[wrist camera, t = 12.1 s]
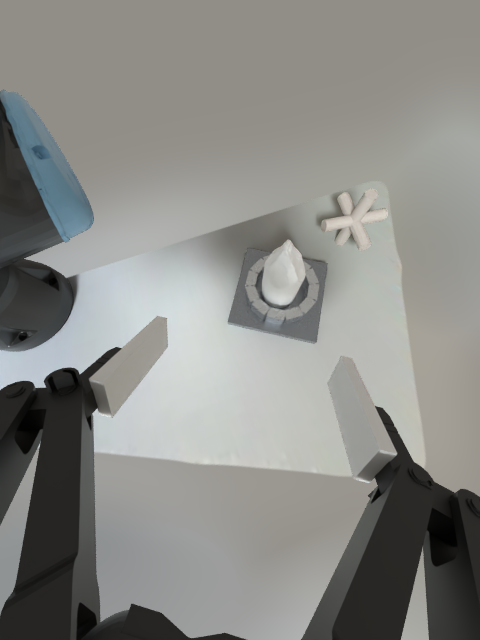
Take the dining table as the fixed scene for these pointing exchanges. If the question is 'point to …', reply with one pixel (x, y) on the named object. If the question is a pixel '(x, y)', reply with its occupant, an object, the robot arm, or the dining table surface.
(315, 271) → the collar
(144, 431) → the dining table surface
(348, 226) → the pipe connector
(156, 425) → the dining table surface
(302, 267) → the white faceted pointed piece
